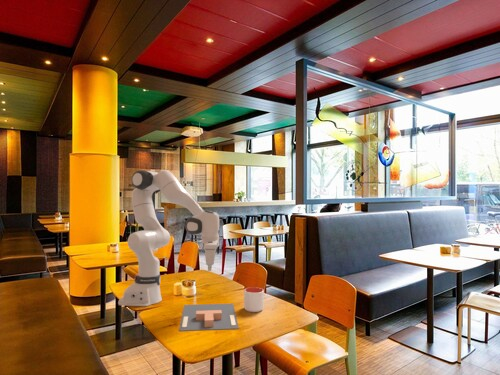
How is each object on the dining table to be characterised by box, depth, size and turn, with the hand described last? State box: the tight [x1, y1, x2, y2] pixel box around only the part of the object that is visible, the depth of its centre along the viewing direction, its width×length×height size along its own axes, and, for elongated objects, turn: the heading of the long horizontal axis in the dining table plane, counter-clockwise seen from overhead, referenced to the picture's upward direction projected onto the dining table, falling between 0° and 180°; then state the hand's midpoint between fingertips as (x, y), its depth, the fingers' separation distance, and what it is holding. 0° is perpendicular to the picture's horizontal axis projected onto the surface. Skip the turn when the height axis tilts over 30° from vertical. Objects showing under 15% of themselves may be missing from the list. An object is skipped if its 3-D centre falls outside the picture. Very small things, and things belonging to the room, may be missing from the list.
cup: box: [243, 287, 265, 313], centre depth 166 cm, size 10×10×10 cm
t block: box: [196, 310, 222, 327], centre depth 148 cm, size 12×12×3 cm
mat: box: [178, 303, 240, 332], centre depth 156 cm, size 26×32×1 cm
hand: (209, 270), depth 161 cm, fingers closed
